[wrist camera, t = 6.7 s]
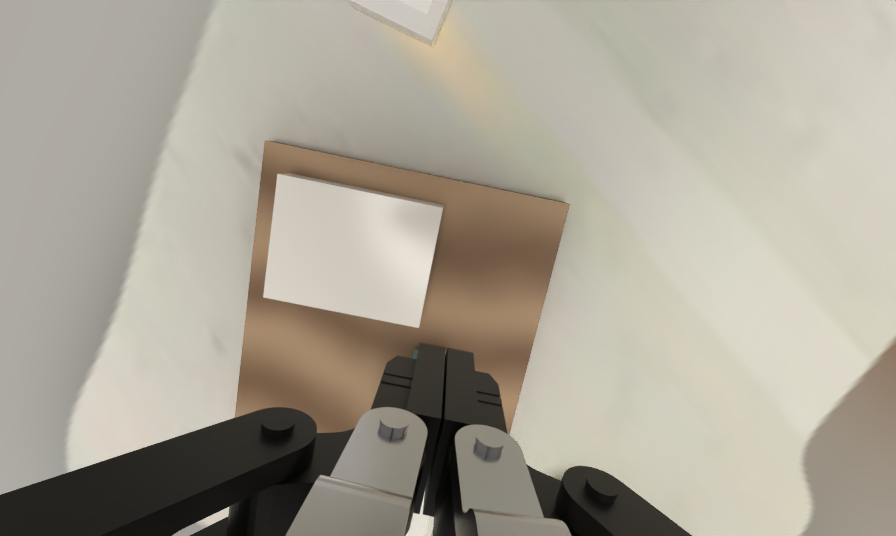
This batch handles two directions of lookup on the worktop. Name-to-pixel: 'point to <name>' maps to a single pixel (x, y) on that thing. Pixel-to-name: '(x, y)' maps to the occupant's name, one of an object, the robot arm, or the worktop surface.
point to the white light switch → (408, 15)
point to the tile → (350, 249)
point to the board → (445, 307)
